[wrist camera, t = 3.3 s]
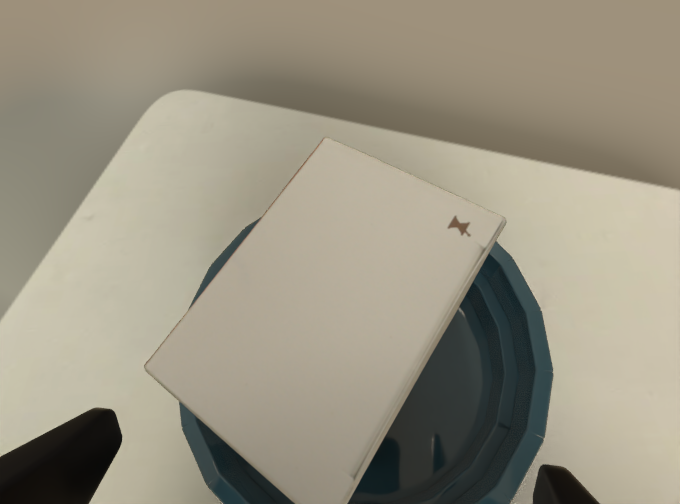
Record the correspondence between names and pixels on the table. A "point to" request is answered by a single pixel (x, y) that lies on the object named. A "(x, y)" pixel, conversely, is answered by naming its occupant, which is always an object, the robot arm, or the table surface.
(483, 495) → the bowl
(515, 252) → the table surface
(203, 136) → the table surface
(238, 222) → the table surface
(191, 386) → the small box
